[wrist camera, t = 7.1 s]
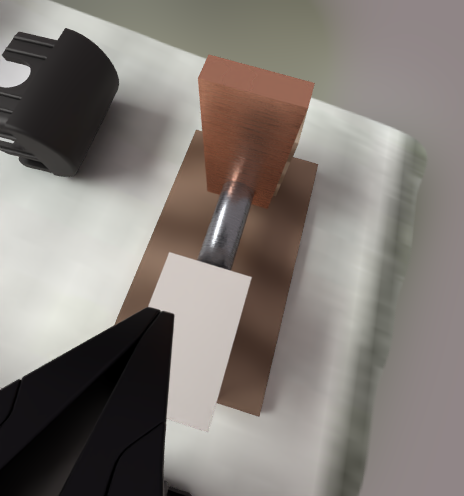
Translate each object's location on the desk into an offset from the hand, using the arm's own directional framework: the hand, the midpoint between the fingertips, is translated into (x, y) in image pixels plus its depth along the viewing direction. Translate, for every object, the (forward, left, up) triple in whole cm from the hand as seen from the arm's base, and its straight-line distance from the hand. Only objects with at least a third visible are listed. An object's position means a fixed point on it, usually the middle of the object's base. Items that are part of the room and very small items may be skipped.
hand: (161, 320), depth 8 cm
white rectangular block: (0, 0, -14) cm, 14 cm away
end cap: (+14, +17, -14) cm, 26 cm away
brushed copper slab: (+9, 0, -11) cm, 14 cm away
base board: (+6, 0, -14) cm, 15 cm away
